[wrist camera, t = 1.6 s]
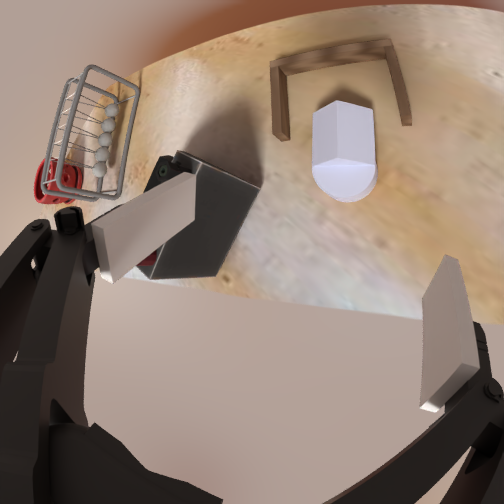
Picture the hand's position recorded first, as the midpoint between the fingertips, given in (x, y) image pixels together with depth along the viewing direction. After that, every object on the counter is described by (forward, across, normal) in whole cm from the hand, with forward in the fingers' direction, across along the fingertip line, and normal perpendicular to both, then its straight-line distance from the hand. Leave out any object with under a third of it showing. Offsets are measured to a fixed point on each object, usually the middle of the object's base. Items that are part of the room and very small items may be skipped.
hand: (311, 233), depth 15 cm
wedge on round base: (+32, -2, -4) cm, 33 cm away
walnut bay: (+38, -5, +5) cm, 39 cm away
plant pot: (+37, -73, -27) cm, 86 cm away
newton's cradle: (+40, -56, -14) cm, 70 cm away
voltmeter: (+29, -22, -19) cm, 42 cm away
